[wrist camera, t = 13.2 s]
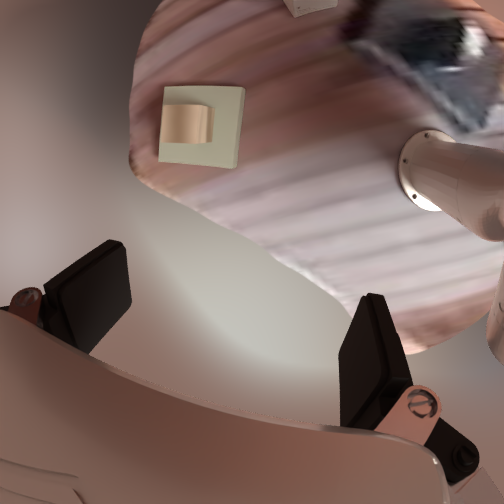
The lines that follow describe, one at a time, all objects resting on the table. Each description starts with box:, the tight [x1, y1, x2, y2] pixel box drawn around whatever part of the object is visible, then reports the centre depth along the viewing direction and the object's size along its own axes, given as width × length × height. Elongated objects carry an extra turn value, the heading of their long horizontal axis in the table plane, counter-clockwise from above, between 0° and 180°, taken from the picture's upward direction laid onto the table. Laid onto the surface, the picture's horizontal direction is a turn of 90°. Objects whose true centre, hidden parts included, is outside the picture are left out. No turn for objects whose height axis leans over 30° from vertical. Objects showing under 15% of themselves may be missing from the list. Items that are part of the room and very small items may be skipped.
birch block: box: [161, 105, 215, 144], centre depth 33 cm, size 5×5×6 cm
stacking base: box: [158, 86, 246, 169], centre depth 37 cm, size 12×12×2 cm
